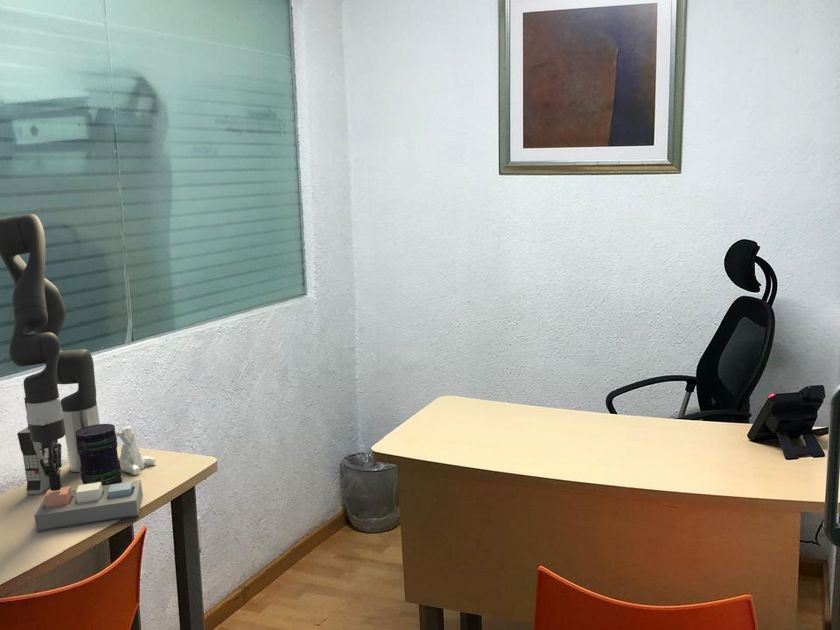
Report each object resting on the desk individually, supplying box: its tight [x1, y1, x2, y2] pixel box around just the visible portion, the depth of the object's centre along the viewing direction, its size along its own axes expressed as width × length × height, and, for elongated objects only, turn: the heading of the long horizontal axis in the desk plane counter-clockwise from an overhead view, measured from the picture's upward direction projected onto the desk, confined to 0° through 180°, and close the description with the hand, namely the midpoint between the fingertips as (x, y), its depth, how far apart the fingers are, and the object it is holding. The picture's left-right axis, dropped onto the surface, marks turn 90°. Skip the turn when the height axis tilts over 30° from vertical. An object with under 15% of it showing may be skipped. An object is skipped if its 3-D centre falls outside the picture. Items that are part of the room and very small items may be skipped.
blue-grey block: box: [108, 481, 133, 498], centre depth 202 cm, size 5×5×4 cm
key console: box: [34, 479, 144, 533], centre depth 200 cm, size 14×22×4 cm, turn 104°
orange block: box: [43, 486, 72, 508], centre depth 198 cm, size 5×5×4 cm
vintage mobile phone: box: [17, 397, 50, 495], centre depth 216 cm, size 4×5×25 cm
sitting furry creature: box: [116, 426, 156, 476], centre depth 229 cm, size 10×9×12 cm
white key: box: [76, 482, 103, 503], centre depth 200 cm, size 5×5×4 cm
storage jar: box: [75, 423, 123, 486], centre depth 219 cm, size 10×10×15 cm
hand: (56, 489), depth 198 cm, fingers closed
